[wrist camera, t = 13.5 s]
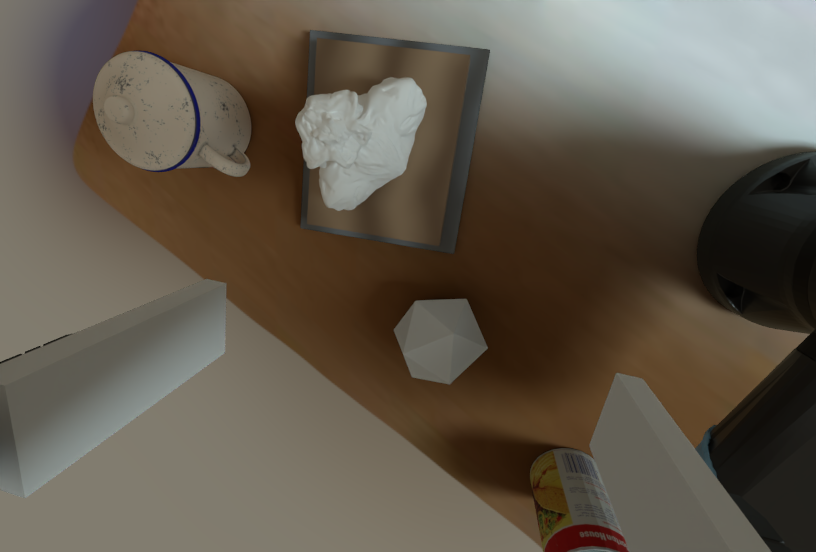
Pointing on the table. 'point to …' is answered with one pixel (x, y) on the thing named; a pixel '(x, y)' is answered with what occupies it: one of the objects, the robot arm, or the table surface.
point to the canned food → (573, 504)
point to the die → (439, 339)
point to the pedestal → (433, 146)
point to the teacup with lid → (170, 115)
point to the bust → (360, 138)
